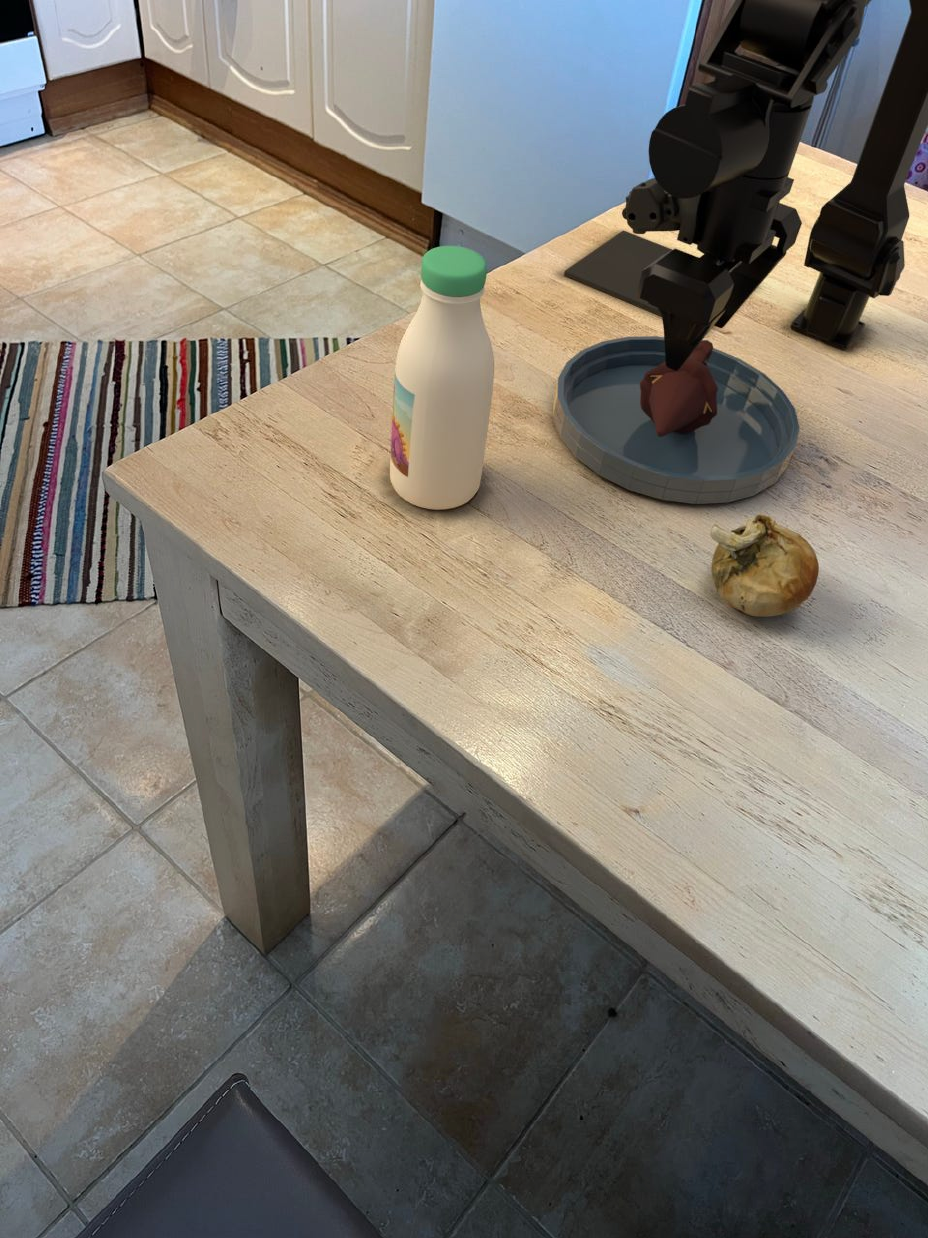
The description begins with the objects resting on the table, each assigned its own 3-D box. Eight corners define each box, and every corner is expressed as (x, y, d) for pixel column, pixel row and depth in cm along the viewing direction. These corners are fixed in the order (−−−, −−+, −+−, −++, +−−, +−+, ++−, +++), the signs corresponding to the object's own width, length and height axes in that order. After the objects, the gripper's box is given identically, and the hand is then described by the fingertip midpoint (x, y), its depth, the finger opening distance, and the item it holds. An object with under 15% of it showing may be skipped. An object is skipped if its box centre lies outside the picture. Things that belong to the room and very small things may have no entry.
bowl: (622, 337, 99) (628, 311, 97) (821, 424, 92) (833, 397, 90) (507, 434, 86) (511, 406, 84) (728, 543, 79) (739, 516, 76)
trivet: (622, 234, 115) (623, 229, 115) (749, 284, 110) (751, 279, 109) (563, 275, 107) (564, 270, 107) (698, 332, 101) (700, 326, 101)
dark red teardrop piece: (720, 424, 78) (748, 352, 89) (642, 379, 78) (681, 312, 89) (677, 484, 83) (709, 409, 94) (604, 441, 83) (645, 371, 94)
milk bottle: (491, 469, 82) (523, 248, 68) (462, 523, 77) (490, 297, 63) (408, 444, 84) (422, 223, 69) (375, 496, 79) (382, 269, 64)
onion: (757, 651, 71) (795, 576, 65) (679, 587, 75) (707, 510, 69) (818, 609, 74) (858, 534, 68) (740, 550, 78) (772, 474, 72)
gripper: (707, 100, 79) (661, 275, 91) (598, 164, 68) (562, 354, 80) (833, 141, 75) (768, 318, 87) (739, 216, 64) (680, 407, 76)
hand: (695, 346), depth 83 cm, fingers open, 9 cm apart
